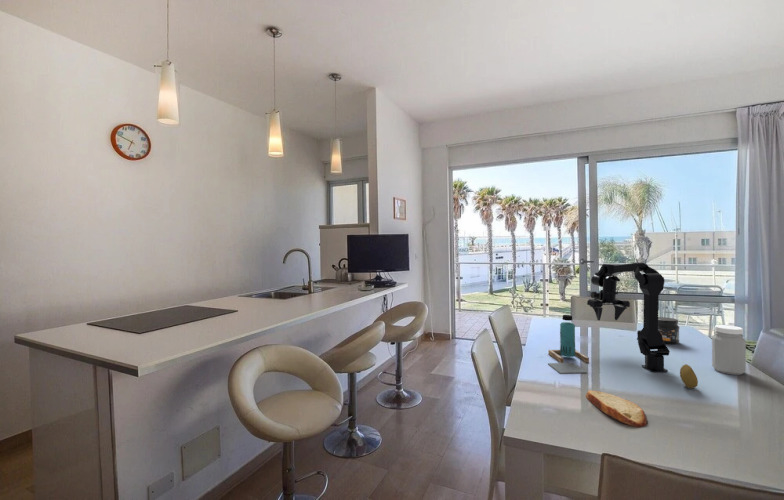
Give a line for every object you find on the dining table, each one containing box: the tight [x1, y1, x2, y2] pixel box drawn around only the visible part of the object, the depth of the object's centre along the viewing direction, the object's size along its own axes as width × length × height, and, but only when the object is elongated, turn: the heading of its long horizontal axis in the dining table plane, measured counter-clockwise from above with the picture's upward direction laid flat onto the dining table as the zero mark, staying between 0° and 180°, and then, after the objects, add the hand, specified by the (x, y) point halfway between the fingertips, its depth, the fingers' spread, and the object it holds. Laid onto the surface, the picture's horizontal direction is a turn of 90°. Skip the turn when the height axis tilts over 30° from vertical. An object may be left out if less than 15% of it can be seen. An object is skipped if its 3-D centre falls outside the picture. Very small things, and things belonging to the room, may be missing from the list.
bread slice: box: [585, 389, 648, 428], centre depth 113 cm, size 18×18×4 cm
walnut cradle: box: [547, 349, 590, 363], centre depth 162 cm, size 12×12×2 cm
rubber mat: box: [547, 362, 588, 375], centre depth 149 cm, size 11×11×1 cm
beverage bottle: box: [559, 314, 577, 358], centre depth 161 cm, size 6×7×20 cm
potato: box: [679, 364, 699, 389], centre depth 127 cm, size 7×8×8 cm
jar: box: [711, 324, 747, 376], centre depth 141 cm, size 10×10×18 cm
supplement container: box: [658, 316, 680, 345], centre depth 182 cm, size 10×10×12 cm
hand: (607, 320), depth 173 cm, fingers open, 9 cm apart
